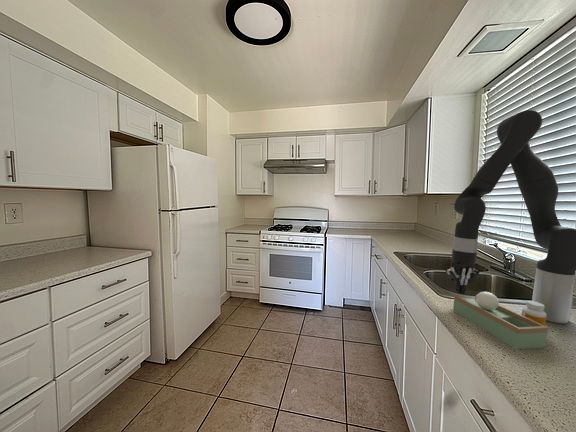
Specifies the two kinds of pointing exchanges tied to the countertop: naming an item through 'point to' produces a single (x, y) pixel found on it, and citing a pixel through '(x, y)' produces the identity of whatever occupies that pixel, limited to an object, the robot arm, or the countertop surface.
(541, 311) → the supplement bottle
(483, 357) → the countertop surface
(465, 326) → the countertop surface
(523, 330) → the runway
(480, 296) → the ball
